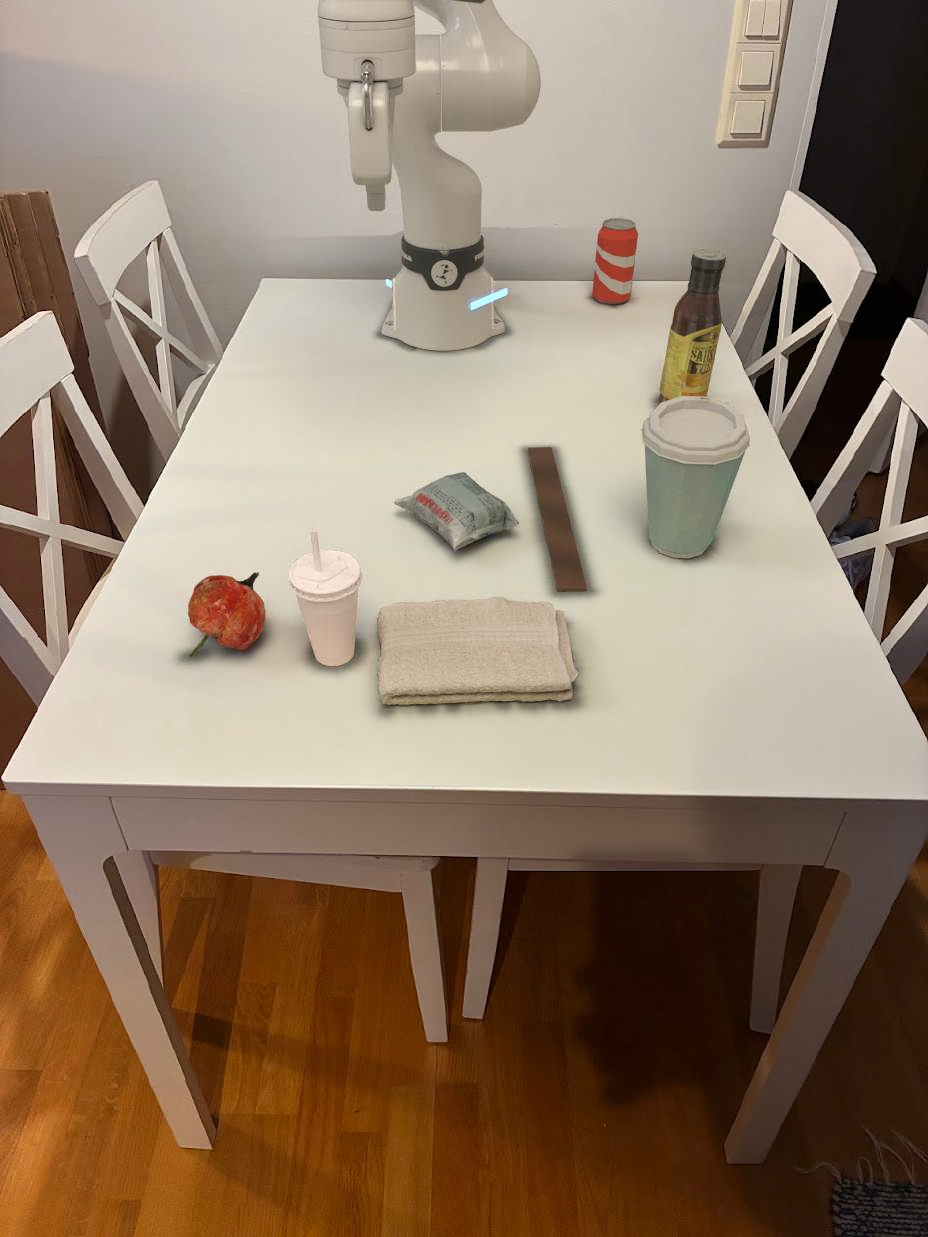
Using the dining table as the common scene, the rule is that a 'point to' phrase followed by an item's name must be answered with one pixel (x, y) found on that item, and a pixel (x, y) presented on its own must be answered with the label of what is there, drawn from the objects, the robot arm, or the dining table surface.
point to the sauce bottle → (694, 330)
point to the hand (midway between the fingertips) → (376, 206)
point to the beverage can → (615, 261)
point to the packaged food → (459, 509)
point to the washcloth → (473, 652)
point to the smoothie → (328, 600)
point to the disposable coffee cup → (690, 470)
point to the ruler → (556, 521)
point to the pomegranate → (227, 611)
